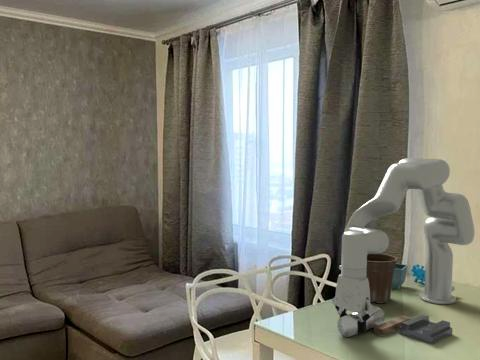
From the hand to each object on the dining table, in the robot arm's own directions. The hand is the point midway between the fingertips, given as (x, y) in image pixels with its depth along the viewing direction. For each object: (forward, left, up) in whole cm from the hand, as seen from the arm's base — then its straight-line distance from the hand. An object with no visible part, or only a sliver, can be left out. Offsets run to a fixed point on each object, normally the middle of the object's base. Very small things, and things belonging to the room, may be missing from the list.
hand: (352, 329), depth 153 cm
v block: (-18, +14, -2) cm, 23 cm away
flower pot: (-56, -21, -2) cm, 60 cm away
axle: (-4, 0, -1) cm, 5 cm away
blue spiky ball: (-71, -16, -2) cm, 72 cm away
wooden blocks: (-14, 0, -2) cm, 14 cm away
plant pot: (-36, -17, -2) cm, 40 cm away
